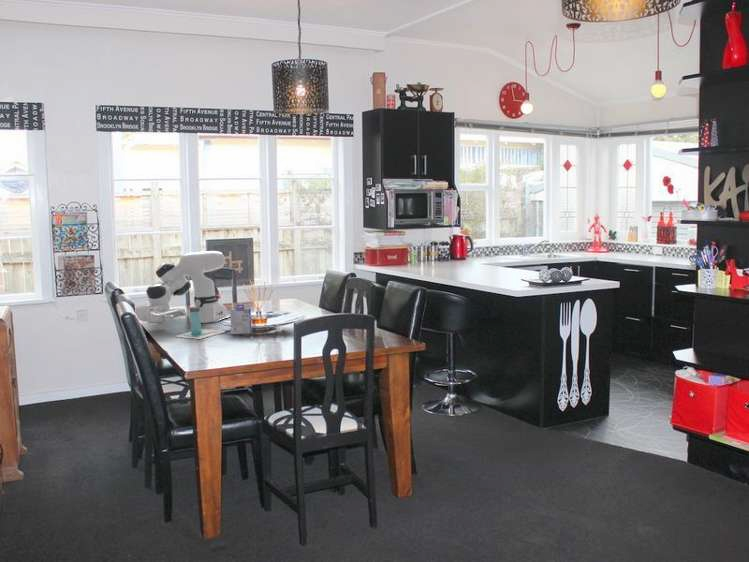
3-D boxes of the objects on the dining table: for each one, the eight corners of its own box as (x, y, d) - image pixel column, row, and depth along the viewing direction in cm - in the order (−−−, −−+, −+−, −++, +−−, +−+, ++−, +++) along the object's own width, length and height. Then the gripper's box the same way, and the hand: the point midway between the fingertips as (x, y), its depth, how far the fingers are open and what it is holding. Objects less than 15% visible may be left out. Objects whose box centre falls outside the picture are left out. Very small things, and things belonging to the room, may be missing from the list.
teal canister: (196, 333, 372) (194, 306, 370) (203, 333, 369) (201, 306, 367) (189, 335, 367) (187, 307, 365) (196, 335, 365) (194, 308, 363)
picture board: (200, 330, 383) (200, 328, 383) (225, 332, 374) (225, 330, 374) (174, 337, 366) (174, 336, 366) (199, 339, 358) (199, 338, 358)
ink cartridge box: (252, 331, 374) (250, 303, 372) (250, 333, 368) (248, 305, 366) (233, 332, 374) (231, 304, 372) (231, 334, 368) (229, 306, 366)
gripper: (174, 316, 389) (193, 318, 382) (145, 323, 371) (165, 325, 364) (173, 304, 388) (192, 306, 381) (144, 311, 370) (164, 313, 363)
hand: (179, 315), depth 372 cm, fingers open, 8 cm apart
